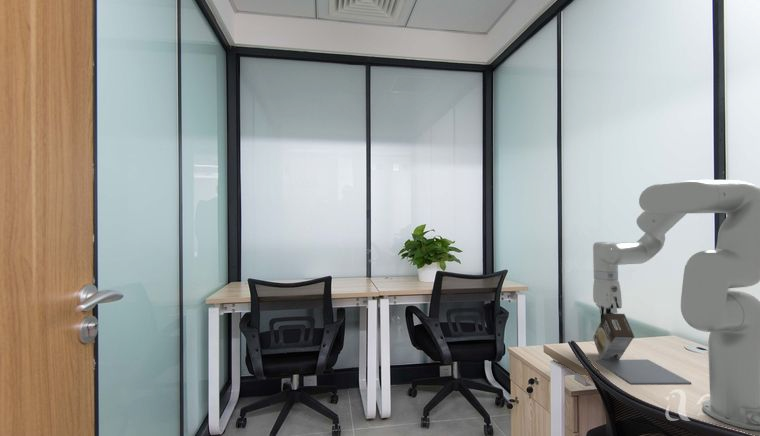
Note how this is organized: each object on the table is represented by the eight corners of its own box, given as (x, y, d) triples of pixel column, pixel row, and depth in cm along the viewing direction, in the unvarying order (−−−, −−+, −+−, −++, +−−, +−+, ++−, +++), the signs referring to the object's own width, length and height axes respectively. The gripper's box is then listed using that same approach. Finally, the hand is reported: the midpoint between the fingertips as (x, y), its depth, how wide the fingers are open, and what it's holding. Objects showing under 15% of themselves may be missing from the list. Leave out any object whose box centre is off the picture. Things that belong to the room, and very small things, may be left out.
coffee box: (591, 337, 132) (604, 312, 122) (610, 338, 131) (624, 312, 121) (600, 360, 125) (614, 335, 115) (620, 361, 124) (635, 336, 114)
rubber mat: (691, 384, 106) (691, 382, 106) (630, 384, 106) (630, 382, 106) (647, 360, 124) (647, 359, 124) (596, 361, 124) (596, 359, 124)
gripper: (630, 279, 120) (631, 332, 120) (603, 272, 135) (604, 319, 135) (607, 279, 120) (608, 332, 120) (583, 272, 135) (584, 319, 135)
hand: (606, 325), depth 127 cm, fingers closed
